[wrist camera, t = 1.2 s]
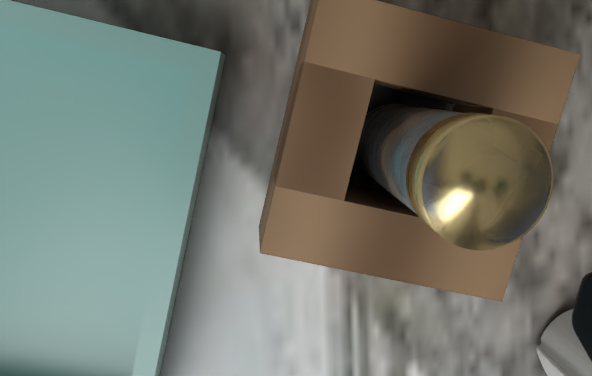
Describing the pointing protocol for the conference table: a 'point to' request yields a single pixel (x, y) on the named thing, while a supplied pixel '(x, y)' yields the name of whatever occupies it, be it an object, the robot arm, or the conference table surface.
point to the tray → (95, 189)
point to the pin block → (349, 122)
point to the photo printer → (563, 349)
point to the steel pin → (459, 171)
